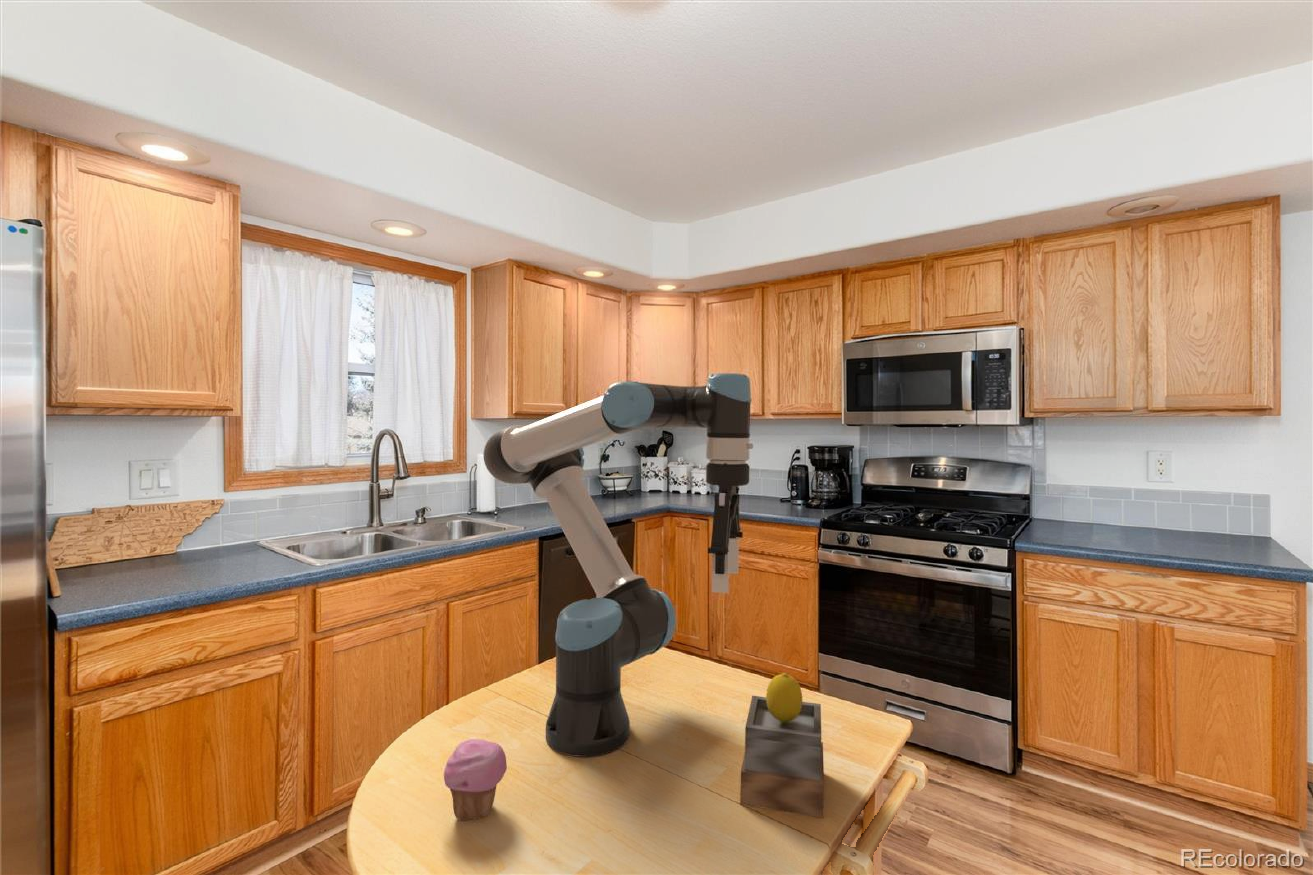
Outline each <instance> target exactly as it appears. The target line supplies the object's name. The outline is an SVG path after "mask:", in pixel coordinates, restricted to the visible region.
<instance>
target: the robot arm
mask: <svg viewBox="0 0 1313 875" xmlns="http://www.w3.org/2000/svg"><path fill="white" fill-rule="evenodd" d="M751 394H752V393H751V379H750V377H749V376H748V375H746V374H743V373H734V372H732V373H729V372H728V373H726V372H724V373H723V372H722V373H719V372H717V373H712V374H710V375H708V378H707V382H706V385H701V386H698V385H697V386H696V385H695V386H691V385H690V386H688V385H687V386H684V385H683V386H681V385H671V384H668V385H667V384H657V383H647V382H639V381H634V380H628V381H618V382H616V383H612V384H611V385H610V386H609V387H608V389H607V390H606V391H605V392H604V394H603V395H601V396H598V397H597V398H593V399H592V400H589V401H586V402H584V403H580V404H579V405H576V406H574V407H571V408H568V409H566V410H564V411H561V412H558V413H555V414H553V415H551V416H548V417H545V418H543V419H540V420H538V421H535V422H533V423H530V424H528V425H525V426H524V425H520V424H515V425H511V426H509V427H506V428H504V429H501V430H499V431H497V432H496V433H493V435H492V436H490V437H489V439H488V440H487V442H486V443H485V445H484V449H483V462H484V465H485V467H486V469H487V471H488V472H489V474H490V475H492V477H493V478H495V479H496V480H498V481H499V482H500V481H501V482H503V483H505V484H511V485H512V484H514V485H515V484H518V485H519V484H530V485H531V488H532V490H533V492H534V494H535V495H536V497H537V498H539V499H544V500H546V501H547V504H548V505H549V507H550V509H551V510H552V513H553V514H554V516H555V518H556V520H557V522H558V524H559V526H560V528H561V529H562V531H563V534H564V535H565V538H566V539H567V542H568V543H569V545H570V546H571V548H572V551H573V553H574V554H575V556H576V558H577V560H578V562H579V564H580V566H581V568H582V570H583V571H584V574H585V575H586V578H587V579H588V581H589V583H590V585H591V587H592V589H593V590H594V592H595V594H596V596H595V597H592V598H590V599H585V598H584V599H581V600H578V601H574V602H572V603H571V604H568V605H567V606H566V607H564V608H563V609H561V611H560V613H559V615H558V617H557V620H556V622H557V623H556V631H555V637H554V638H555V639H554V640H555V695H554V698H553V701H552V704H551V707H550V711H549V714H548V716H547V718H546V722H545V741H546V743H547V745H548V746H549V747H550V748H551V749H553V750H554V751H556V752H558V753H561V754H565V755H569V756H575V757H593V756H594V757H595V756H601V755H605V754H608V753H611V752H613V751H616V750H618V749H619V748H621V747H622V746H624V745H625V744H626V743H627V742H628V740H629V739H630V738H629V737H630V733H631V732H630V731H631V730H630V729H631V727H630V726H631V722H630V717H629V715H628V711H627V708H626V704H625V702H624V699H623V696H622V692H621V691H622V690H621V681H622V680H621V677H622V674H621V671H622V670H621V669H622V668H623V667H624V666H627V665H630V664H631V663H634V662H636V661H638V660H640V659H643V658H644V657H646V656H649V655H654V654H655V653H657V652H658V651H659V650H660V649H662V648H665V646H667V645H668V644H669V643H670V641H671V640H672V639H673V636H674V634H675V631H676V626H677V625H676V624H677V615H676V610H675V607H674V604H673V602H672V600H671V599H670V598H669V596H668V595H667V594H666V593H665V592H663V591H660V590H658V589H655V588H651V587H650V585H649V583H648V582H647V579H646V577H645V576H643V575H640V574H635V573H634V572H633V570H632V568H631V566H630V564H629V563H628V561H627V560H626V557H625V556H624V554H623V552H622V550H621V548H620V547H619V545H618V542H616V540H615V537H614V536H613V534H612V532H611V531H610V529H609V527H608V525H607V524H606V521H605V519H604V517H603V516H602V514H601V512H600V511H599V509H598V508H597V506H596V504H595V502H594V500H593V498H592V496H591V495H590V493H589V491H588V490H587V488H586V485H585V483H584V481H583V478H584V474H585V470H584V466H585V459H584V458H583V456H584V455H585V451H584V448H585V447H588V446H590V445H591V446H592V445H593V444H596V443H600V442H601V441H604V440H608V439H611V438H613V437H617V436H620V435H623V434H626V433H630V432H632V431H635V430H638V429H642V428H673V429H674V428H706V436H707V437H706V449H705V450H706V455H705V458H706V460H708V461H709V462H708V463H707V464H706V468H705V469H706V470H705V471H706V472H705V473H706V474H705V480H706V481H705V482H706V483H707V484H708V485H712V486H718V492H715V493H714V496H713V497H714V509H713V517H712V518H713V519H712V532H711V541H710V543H711V544H710V547H708V548H707V554H711V555H712V558H711V560H712V562H711V564H712V566H711V593H716V594H717V593H718V594H729V592H730V591H729V589H730V584H729V583H730V574H733V575H734V574H735V575H737V574H739V551H740V550H739V549H740V547H739V546H740V539H739V538H741V539H743V537H744V536H743V535H744V534H743V533H744V531H741V521H740V520H741V519H740V500H741V498H740V494H739V493H740V487H742V486H747V485H748V484H749V483H750V465H749V463H747V462H746V461H749V460H750V450H753V448H754V445H753V443H749V442H750V435H751V434H750V433H751V432H750V430H751V403H752V398H751V397H752V395H751Z"/></svg>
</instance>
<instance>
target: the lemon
mask: <svg viewBox="0 0 1313 875" xmlns="http://www.w3.org/2000/svg"><path fill="white" fill-rule="evenodd" d="M802 693H803V691H802V688H801V686H800V683H799V682H798V680H796V678H794V677H793V676H791V675H790V674H788V673H787V672H782V673H780V674H777V675H775V676H774V677H772V679H771V680H770V681H769V682H768V684H767V688H766V694H765V697H766V702H767V707H768V709H769V712H770V713H771V715H772V716H773V717H774V718H776V719H777V720H779V721H780V722H781V723H782V724H786V723H787V722H788V721H792V720H794V719H795V718H796V717H797V716H798V715H799V713H800V711H801V708H802V702H803V694H802Z"/></svg>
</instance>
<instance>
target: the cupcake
mask: <svg viewBox="0 0 1313 875" xmlns="http://www.w3.org/2000/svg"><path fill="white" fill-rule="evenodd" d="M507 769H508V766H507V757H506V752H505V751H504V749H503V747H502V746H501V745H500V744H499V743H497V742H494V741H490V740H489V741H488V740H486V739H483V738H472V739H468V740H465V741H462V742H460V743H459V744H458V745H457V746H456V747H455V750H453V752H452V754H451V755H450V756H449V757H448V759H447V762H446V764H445V767H444V772H443V780H444V785H445V786H446V787H447V788H448V789H449V791H450V793H451V797H452V806H453V807H452V808H453V814H454V817H455V818H456V819H458V820H459V821H468V819H470V820H474V818H475V819H480V818H483V817H485V816H487V815H488V814H489V813H490V812H491V811H492V808H493V806H494V802H495V796H496V790H497V785H498V784H499V783H500V782H501V781H502V780H503V777H504V775H505V774H506V772H507Z"/></svg>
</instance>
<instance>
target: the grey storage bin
mask: <svg viewBox="0 0 1313 875" xmlns="http://www.w3.org/2000/svg"><path fill="white" fill-rule="evenodd" d="M821 706H822V705H821V703H818V702H817V703H816V702H810V701H809V702H808V701H802V708H801V711H800V713H799V715H798V716H797V717H796V718H795V719H794V720H792V721H788V722H787V723H786V724H782V723H781V722H780V721H779V720H777V719H776V718H774V717H773V716H772V715H771V713H770V712H769V709H768V707H767V702H766V696H760V695H759V696H758V695H751V700H750V704H749V710H748V712H747V713H748V714H747V718H746V724H745V728H744V730H745V732H744V733H745V734H744V754H743V759H742V764H741V770H740V789H739V790H740V794H739V795H740V798H739V799H740V800H739V801H740V802H739V803H740V805H743V806H744V805H745V806H749V807H750V806H751V807H756V808H761V809H762V808H763V809H769V810H774V811H780V812H786V813H794V814H799V815H804V816H805V815H806V816H809V817H811V816H812V817H817V818H822V819H823V818H824V805H825V804H824V803H825V800H824V799H825V769H824V766H825V765H824V742H822V738H823V737H822V710H821V709H822V707H821Z"/></svg>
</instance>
